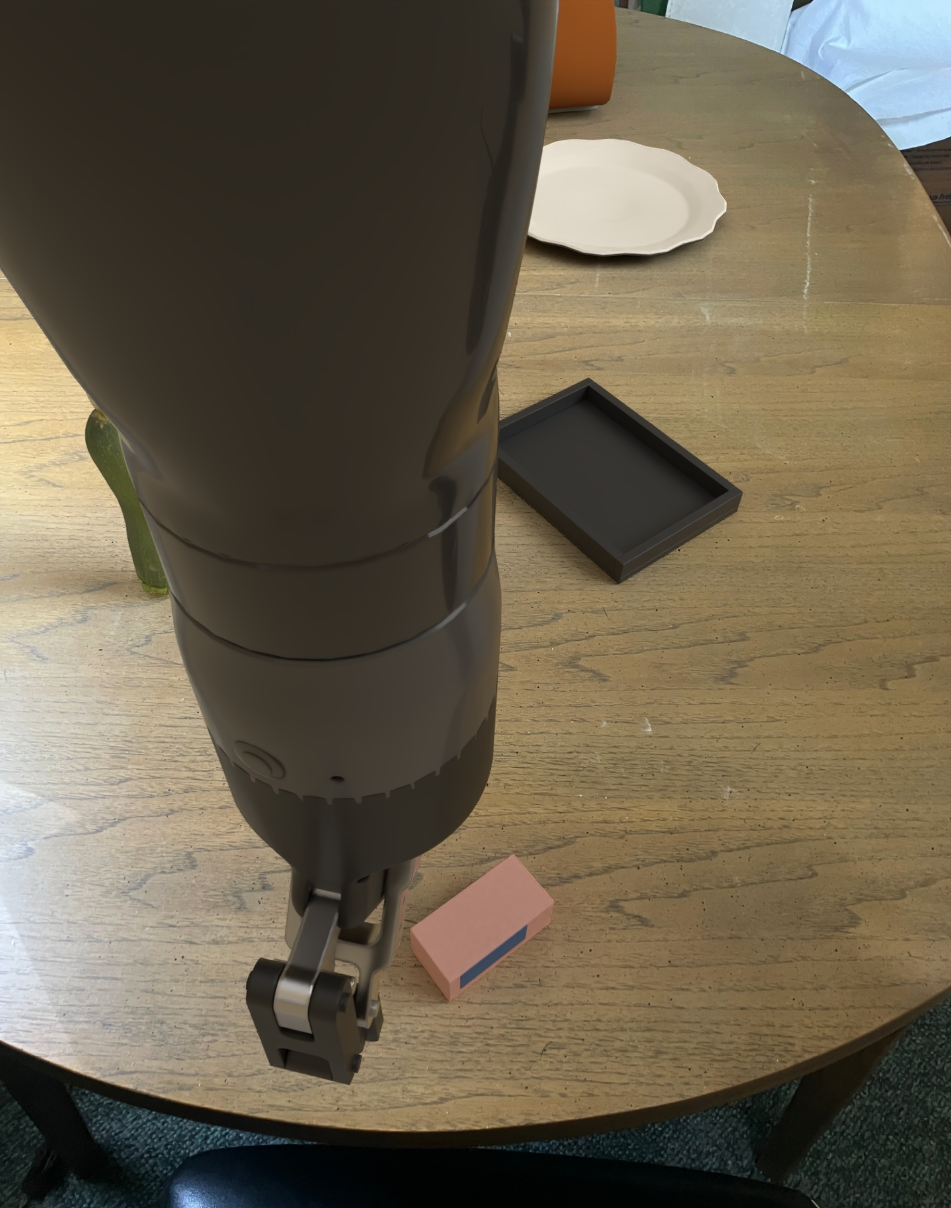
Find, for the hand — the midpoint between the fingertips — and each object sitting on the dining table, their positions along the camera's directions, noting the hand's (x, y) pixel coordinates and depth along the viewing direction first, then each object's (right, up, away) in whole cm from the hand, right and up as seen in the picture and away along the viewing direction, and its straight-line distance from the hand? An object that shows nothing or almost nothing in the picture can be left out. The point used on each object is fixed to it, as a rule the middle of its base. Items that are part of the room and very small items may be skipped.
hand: (384, 911), depth 36 cm
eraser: (+4, -7, +16) cm, 18 cm away
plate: (+18, +55, +68) cm, 89 cm away
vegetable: (-18, +13, +32) cm, 39 cm away
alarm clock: (+13, +79, +88) cm, 119 cm away
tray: (+13, +21, +39) cm, 47 cm away
